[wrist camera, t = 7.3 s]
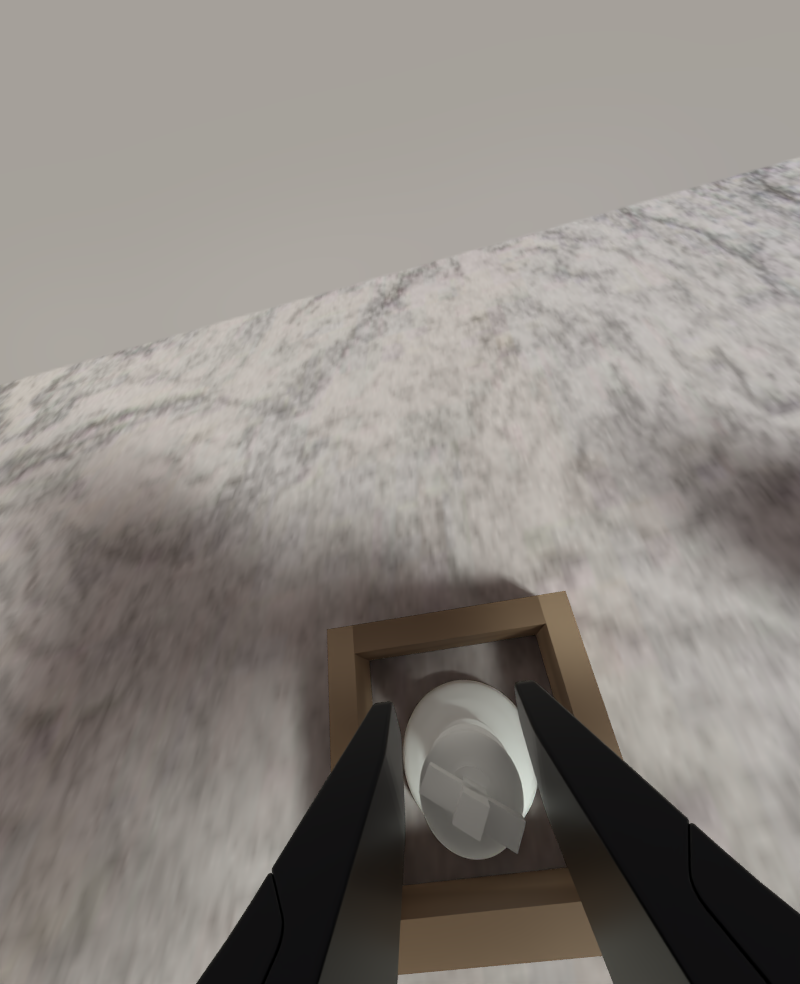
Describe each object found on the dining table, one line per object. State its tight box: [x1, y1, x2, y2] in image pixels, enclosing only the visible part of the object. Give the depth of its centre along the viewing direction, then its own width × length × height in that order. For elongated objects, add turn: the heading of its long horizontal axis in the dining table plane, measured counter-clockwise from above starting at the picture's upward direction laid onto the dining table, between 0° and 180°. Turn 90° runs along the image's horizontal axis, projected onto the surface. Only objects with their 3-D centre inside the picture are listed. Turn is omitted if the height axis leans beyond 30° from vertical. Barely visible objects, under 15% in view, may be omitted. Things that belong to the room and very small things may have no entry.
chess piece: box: [403, 680, 538, 860], centre depth 10 cm, size 5×5×10 cm
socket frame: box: [327, 591, 623, 975], centre depth 13 cm, size 9×9×2 cm
